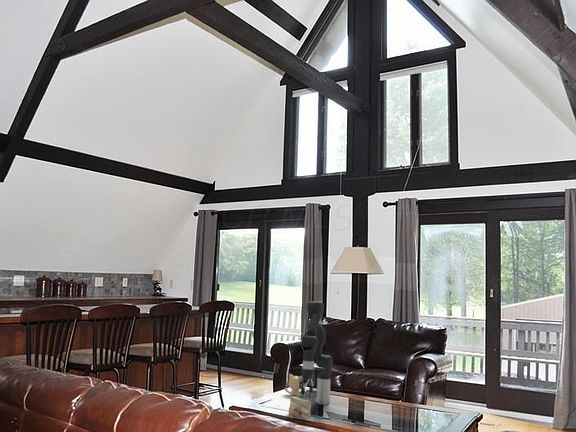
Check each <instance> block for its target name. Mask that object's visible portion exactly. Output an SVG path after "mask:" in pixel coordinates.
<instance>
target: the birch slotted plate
mask: <svg viewBox="0 0 576 432" xmlns="http://www.w3.org/2000/svg"><path fill="white" fill-rule="evenodd" d="M289 399H290V400H289V401H290V402H289V407H292V406H298V407H299V411H301V412H302V415H301V416H300V417H301V418H304V419H310V418H311V408H312V406H311V405H312V401H311V400H307V399H303V398H302V397H301V398H300V397H297V396H291V397H290V398H289Z"/></svg>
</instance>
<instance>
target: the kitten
mask: <svg viewBox="0 0 576 432" xmlns="http://www.w3.org/2000/svg"><path fill="white" fill-rule="evenodd" d="M288 376H289V377H288V388H289V389H291V390H290V391H289V390H288V388H287V387H285V388H284V391H285V392H287V394H289V395H292V396H299V395H300V397H301V398H303V397H304V398H305V395H302V394H301V388H299V382H300V378H303V375H300V376H298V375H293V374H292V373H289V375H288ZM301 385H302V384H301Z"/></svg>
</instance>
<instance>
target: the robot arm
mask: <svg viewBox="0 0 576 432" xmlns="http://www.w3.org/2000/svg"><path fill="white" fill-rule="evenodd" d="M306 308H307V309H306V310H307V314H308V317H309V318H308V319H309V322H308V323H307V325H306V330H305V333H304V334H303V336H302V338H301V342H300V344H301V345H302V347H304V348H311V349H310V350H309V349H308V350H304V351H303V355H302V358H303V359H302V367H301V369H302V370H301V376H302V378H300V382H299V388H301V389H300V390H301V394H302V396H303V395H304V396H305V395H306V387H307V386H308V385H309V387H308V388H309V389H308V391H309V393H311V394H312V393H313V392H314V386H316V397H315V398H316V399H315V403H316V404H318V405H329V404H330V402H331V376H332V373H333V370H332V369H333V356H331V355H326V354H323V347H324V344H325V343H326V341H327V336H326V335H327V334H326V330H325V328H324V326H323V325H322V324H321V323H320V322H321V319H322V317H323V315H324V311H325V306H324V303H323V301H321V300H320V301H318V300H317V301H316V300H315V301H308V302H307V303H306ZM315 364H316V366H317V367H318V368H319V369H320V368H321V369H323V370H324V371H323V372H319V373H317V375H315ZM316 376H317V377H316ZM316 379H317V380H316ZM316 381H317V382H316ZM301 384H302V385H301Z"/></svg>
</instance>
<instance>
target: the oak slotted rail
mask: <svg viewBox="0 0 576 432" xmlns="http://www.w3.org/2000/svg"><path fill="white" fill-rule="evenodd" d="M301 415H302V412H301V411H299V407H298V406H292V407H290V406H289V407H288V416H287V417H288V418H290V419H296V418H299V417H301Z"/></svg>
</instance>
